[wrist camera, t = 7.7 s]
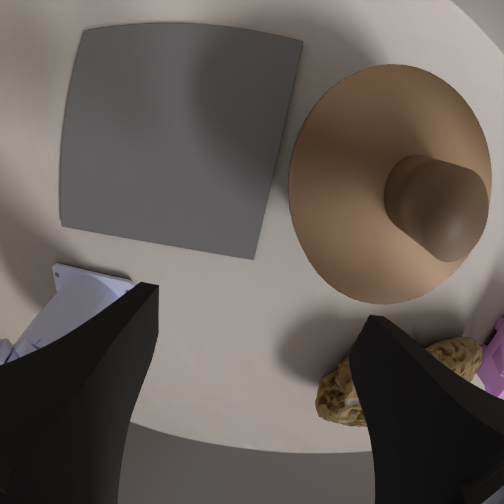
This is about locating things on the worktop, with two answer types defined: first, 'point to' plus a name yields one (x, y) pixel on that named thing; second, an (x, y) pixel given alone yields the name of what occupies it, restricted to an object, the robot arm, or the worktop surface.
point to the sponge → (344, 394)
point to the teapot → (493, 363)
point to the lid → (389, 184)
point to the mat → (175, 133)
